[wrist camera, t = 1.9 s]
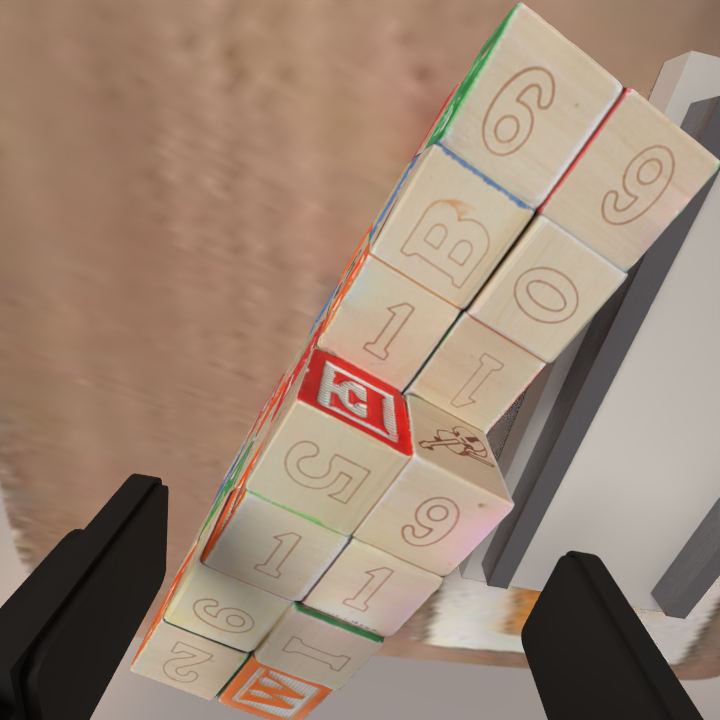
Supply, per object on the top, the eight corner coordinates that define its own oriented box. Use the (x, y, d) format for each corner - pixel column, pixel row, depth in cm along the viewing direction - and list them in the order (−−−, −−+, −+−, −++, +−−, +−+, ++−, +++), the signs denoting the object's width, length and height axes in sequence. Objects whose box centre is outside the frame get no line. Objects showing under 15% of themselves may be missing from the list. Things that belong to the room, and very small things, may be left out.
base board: (664, 62, 16) (724, 37, 13) (980, 140, 17) (1099, 132, 14) (457, 558, 27) (466, 600, 24) (653, 591, 28) (684, 636, 25)
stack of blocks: (447, 87, 17) (603, -110, 6) (563, 173, 18) (888, 155, 7) (237, 450, 24) (120, 679, 13) (328, 494, 26) (293, 739, 14)
